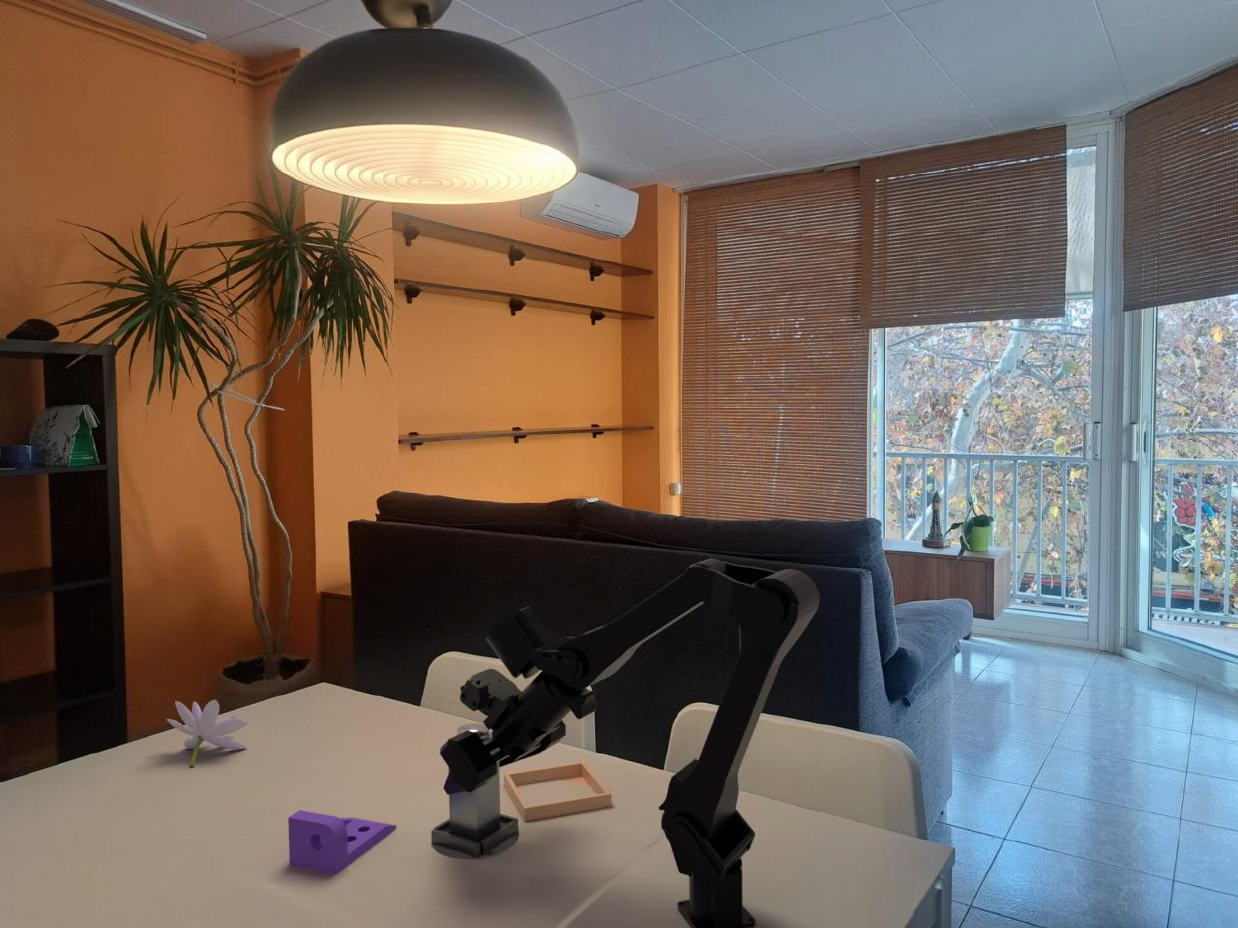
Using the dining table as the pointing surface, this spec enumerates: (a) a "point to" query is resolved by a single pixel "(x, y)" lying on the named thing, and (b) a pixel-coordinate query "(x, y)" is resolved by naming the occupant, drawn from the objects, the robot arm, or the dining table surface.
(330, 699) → the dining table surface
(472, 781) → the robot arm
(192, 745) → the water lily
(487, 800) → the strut
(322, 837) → the bracket
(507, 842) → the socket cup
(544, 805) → the tray
